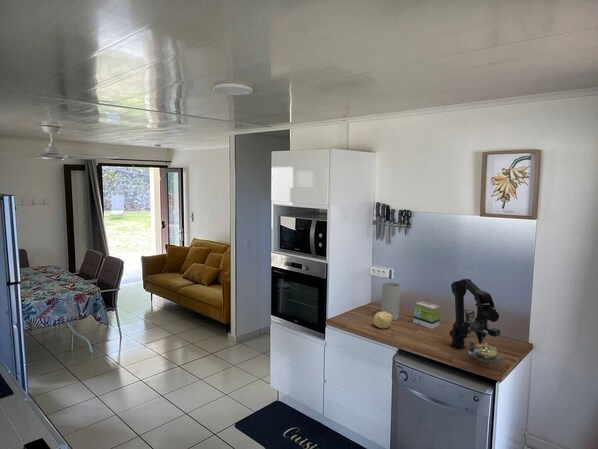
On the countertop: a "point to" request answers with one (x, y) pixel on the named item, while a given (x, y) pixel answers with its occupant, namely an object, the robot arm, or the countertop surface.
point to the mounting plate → (486, 360)
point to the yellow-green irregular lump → (483, 350)
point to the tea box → (426, 314)
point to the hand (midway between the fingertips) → (480, 343)
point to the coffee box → (469, 319)
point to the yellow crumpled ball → (382, 319)
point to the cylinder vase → (391, 299)
